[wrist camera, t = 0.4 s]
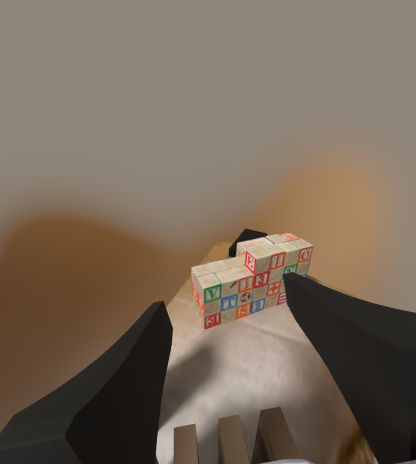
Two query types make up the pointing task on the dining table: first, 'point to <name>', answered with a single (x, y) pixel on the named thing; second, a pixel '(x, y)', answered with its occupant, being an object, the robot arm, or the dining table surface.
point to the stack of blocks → (248, 278)
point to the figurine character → (244, 236)
